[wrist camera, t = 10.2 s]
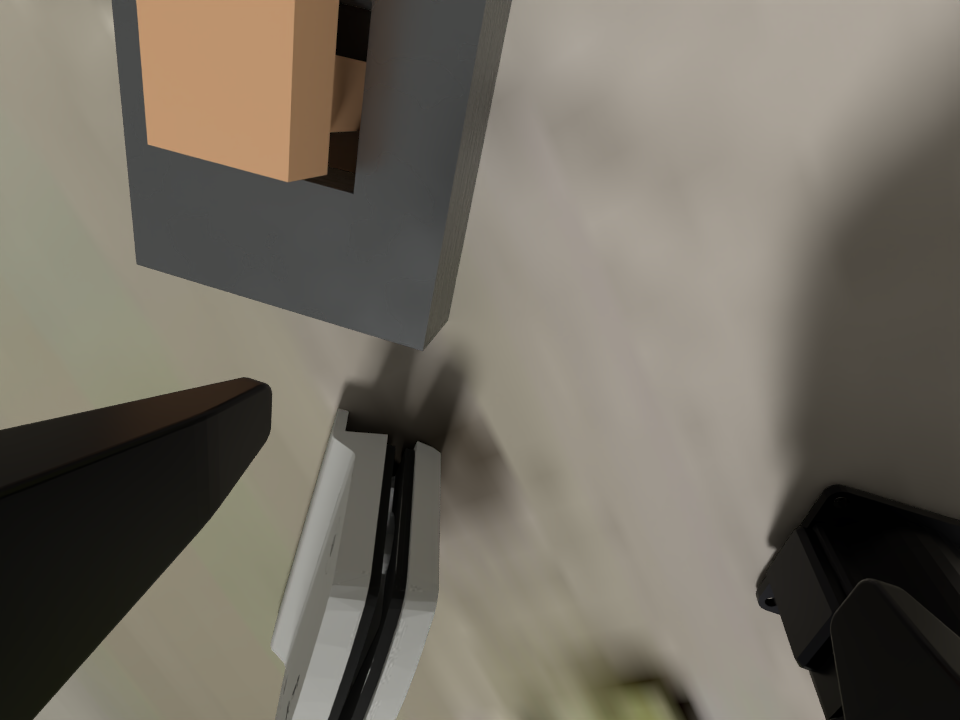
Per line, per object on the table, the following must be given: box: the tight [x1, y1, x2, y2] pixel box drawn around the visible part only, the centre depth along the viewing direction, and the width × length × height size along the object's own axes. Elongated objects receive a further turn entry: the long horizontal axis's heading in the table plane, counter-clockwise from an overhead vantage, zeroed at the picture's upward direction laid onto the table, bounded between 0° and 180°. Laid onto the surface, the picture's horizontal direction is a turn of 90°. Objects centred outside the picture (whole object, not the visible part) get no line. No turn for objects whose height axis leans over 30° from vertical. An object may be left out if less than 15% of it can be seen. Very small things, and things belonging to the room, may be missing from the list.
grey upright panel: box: [271, 409, 441, 720], centre depth 23 cm, size 17×5×10 cm, turn 159°
